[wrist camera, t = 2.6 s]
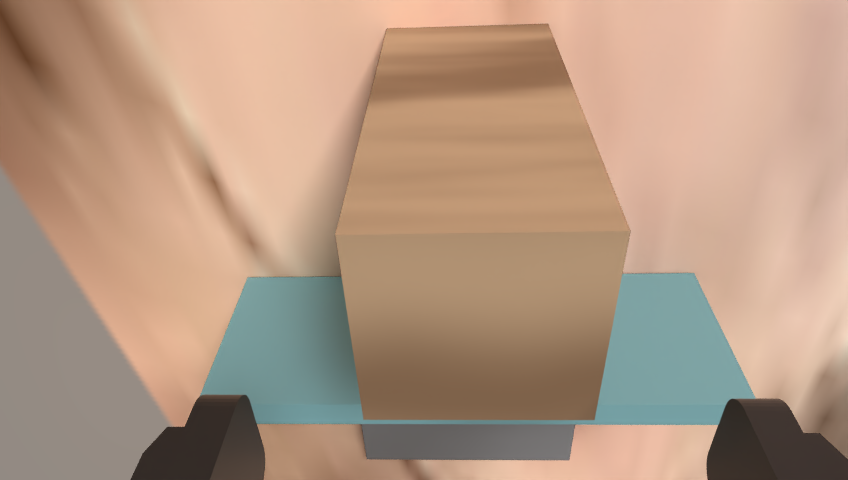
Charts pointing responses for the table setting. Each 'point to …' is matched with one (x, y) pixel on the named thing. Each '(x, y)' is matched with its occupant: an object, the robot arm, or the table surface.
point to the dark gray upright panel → (468, 441)
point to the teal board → (340, 404)
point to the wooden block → (478, 233)
